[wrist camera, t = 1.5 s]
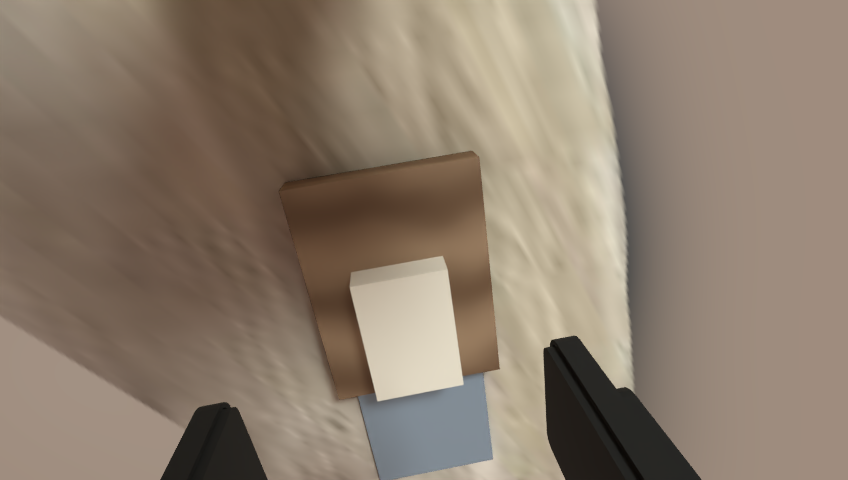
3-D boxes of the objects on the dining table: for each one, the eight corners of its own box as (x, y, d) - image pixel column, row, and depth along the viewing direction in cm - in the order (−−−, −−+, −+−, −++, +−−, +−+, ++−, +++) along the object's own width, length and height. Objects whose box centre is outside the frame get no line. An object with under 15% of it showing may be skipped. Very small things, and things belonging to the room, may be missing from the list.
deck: (285, 182, 27) (278, 191, 25) (472, 150, 28) (479, 157, 26) (341, 381, 33) (339, 399, 32) (492, 352, 34) (499, 369, 32)
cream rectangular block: (351, 272, 28) (349, 287, 26) (442, 255, 28) (447, 269, 26) (377, 381, 31) (377, 401, 29) (458, 366, 32) (463, 384, 30)
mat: (354, 380, 34) (354, 383, 33) (480, 356, 34) (481, 359, 34) (380, 478, 38) (380, 481, 38) (492, 456, 38) (492, 459, 38)
